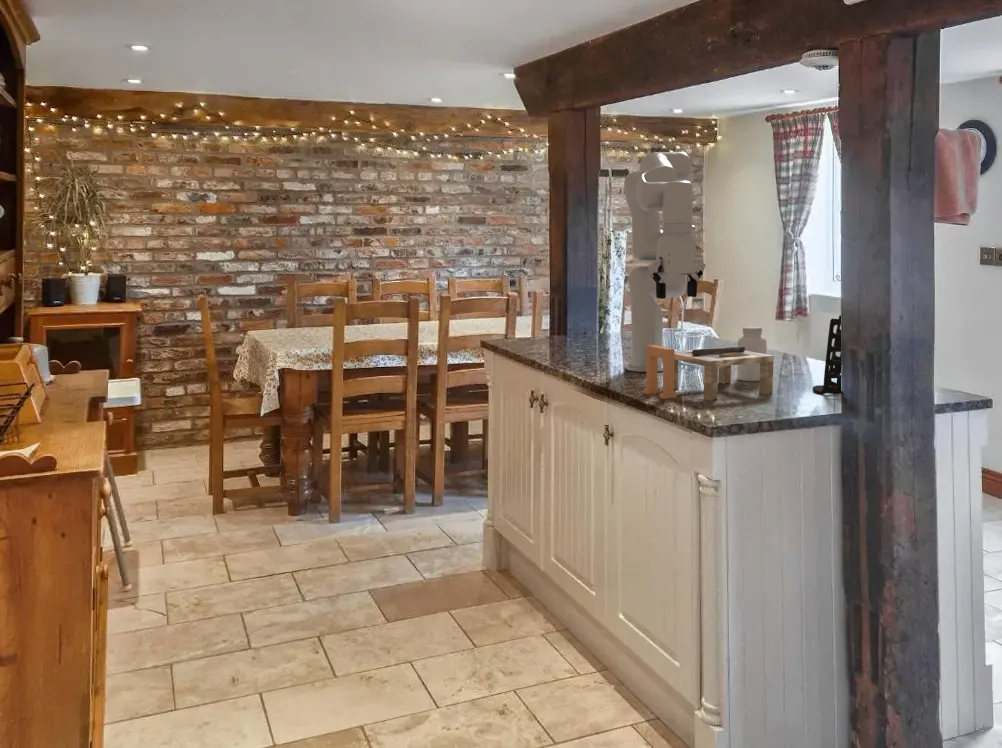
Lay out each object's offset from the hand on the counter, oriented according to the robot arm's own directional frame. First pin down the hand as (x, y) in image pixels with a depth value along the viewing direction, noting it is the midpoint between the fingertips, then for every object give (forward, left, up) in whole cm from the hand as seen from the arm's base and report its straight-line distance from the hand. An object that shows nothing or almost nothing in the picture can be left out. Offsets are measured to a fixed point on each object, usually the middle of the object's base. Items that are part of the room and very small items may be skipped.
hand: (676, 297), depth 241 cm
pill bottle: (-10, +32, -26) cm, 42 cm away
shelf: (0, +13, -26) cm, 29 cm away
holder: (+15, +38, -26) cm, 49 cm away
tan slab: (-2, -4, -26) cm, 26 cm away
